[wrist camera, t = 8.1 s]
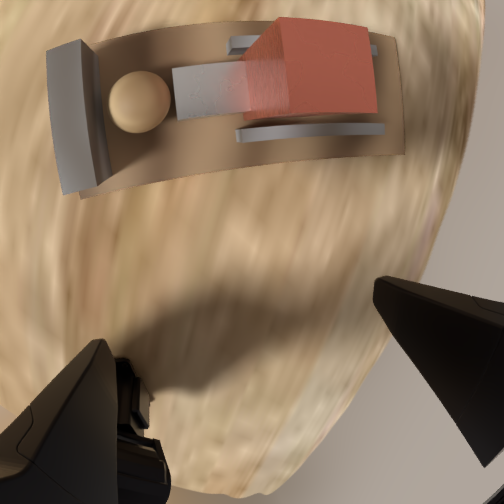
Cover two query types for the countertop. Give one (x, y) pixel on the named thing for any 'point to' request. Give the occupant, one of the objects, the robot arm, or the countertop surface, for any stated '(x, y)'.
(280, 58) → the block
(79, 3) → the countertop surface
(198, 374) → the countertop surface
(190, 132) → the nutcracker base
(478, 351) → the robot arm
